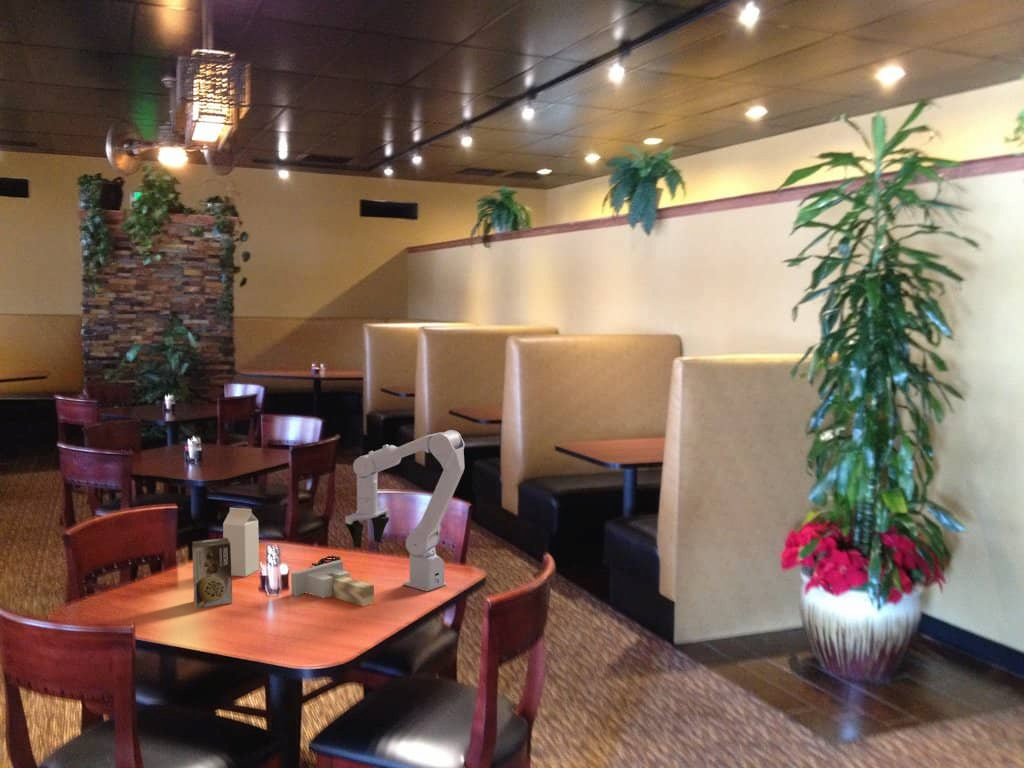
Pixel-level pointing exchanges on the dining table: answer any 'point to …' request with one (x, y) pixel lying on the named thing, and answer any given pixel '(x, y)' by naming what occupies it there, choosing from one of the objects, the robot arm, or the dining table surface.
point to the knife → (326, 559)
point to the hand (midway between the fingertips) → (367, 544)
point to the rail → (353, 590)
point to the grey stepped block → (317, 579)
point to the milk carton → (242, 541)
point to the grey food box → (212, 572)
